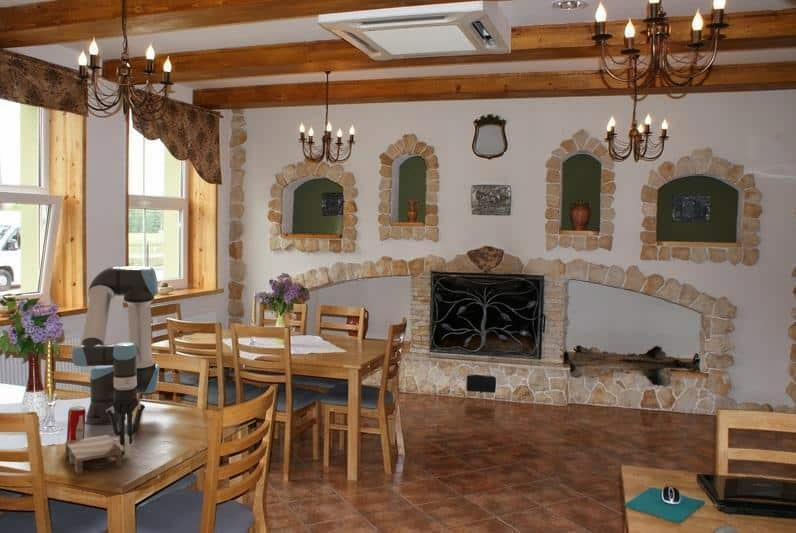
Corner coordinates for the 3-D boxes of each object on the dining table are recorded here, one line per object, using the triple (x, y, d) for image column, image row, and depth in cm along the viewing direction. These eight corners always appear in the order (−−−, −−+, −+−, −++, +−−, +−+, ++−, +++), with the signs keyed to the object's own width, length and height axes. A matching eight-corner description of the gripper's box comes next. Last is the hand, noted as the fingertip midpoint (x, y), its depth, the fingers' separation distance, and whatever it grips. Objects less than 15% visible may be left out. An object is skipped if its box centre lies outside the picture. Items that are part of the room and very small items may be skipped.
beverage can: (66, 446, 252) (66, 406, 251) (86, 444, 254) (85, 405, 253) (66, 452, 246) (65, 410, 245) (85, 450, 249) (85, 409, 248)
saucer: (120, 469, 232) (120, 462, 231) (73, 472, 229) (73, 464, 228) (128, 454, 246) (128, 447, 246) (84, 456, 243) (84, 449, 243)
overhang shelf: (65, 458, 240) (65, 441, 240) (108, 451, 248) (108, 434, 248) (77, 477, 224) (77, 459, 223) (122, 468, 232) (122, 451, 231)
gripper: (108, 392, 233) (109, 460, 235) (147, 387, 241) (148, 453, 243) (103, 387, 240) (104, 453, 241) (141, 382, 247) (142, 447, 249)
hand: (126, 453), depth 242 cm, fingers closed
